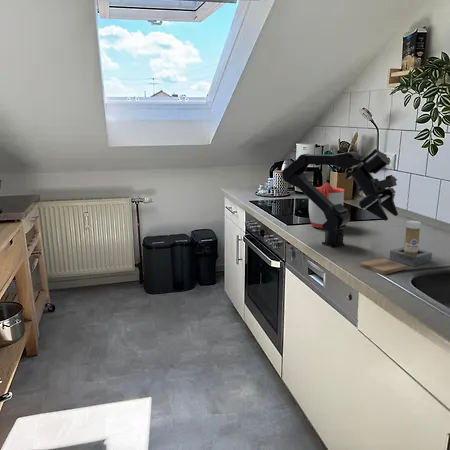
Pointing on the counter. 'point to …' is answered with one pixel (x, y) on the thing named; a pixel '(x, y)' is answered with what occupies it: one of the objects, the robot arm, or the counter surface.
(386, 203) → the robot arm
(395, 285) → the counter surface
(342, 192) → the citrus juicer
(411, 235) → the sprinkles bottle
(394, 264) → the walnut coaster
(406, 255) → the square collar
